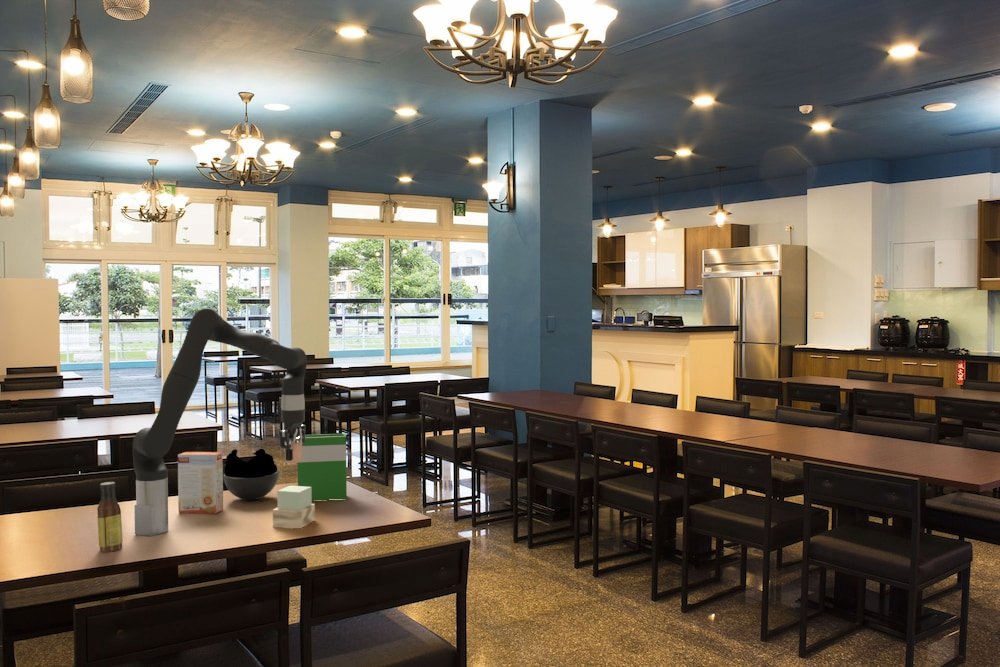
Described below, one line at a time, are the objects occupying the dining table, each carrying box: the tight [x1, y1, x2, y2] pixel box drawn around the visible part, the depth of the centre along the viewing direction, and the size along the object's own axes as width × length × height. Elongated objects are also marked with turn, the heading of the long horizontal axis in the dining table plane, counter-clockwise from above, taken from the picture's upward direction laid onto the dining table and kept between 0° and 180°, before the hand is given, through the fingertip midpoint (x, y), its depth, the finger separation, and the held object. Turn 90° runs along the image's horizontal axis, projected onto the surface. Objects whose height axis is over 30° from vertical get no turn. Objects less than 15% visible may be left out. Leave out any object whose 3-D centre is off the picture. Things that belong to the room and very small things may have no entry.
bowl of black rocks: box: [223, 448, 280, 501], centre depth 287 cm, size 20×20×19 cm
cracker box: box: [177, 451, 224, 514], centre depth 269 cm, size 14×6×21 cm, turn 84°
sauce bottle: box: [96, 481, 123, 553], centre depth 225 cm, size 6×6×20 cm
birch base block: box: [272, 503, 316, 529], centre depth 253 cm, size 10×10×6 cm
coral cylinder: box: [284, 442, 302, 464], centre depth 252 cm, size 6×6×6 cm
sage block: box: [276, 485, 313, 511], centre depth 252 cm, size 8×8×6 cm
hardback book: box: [297, 433, 348, 501], centre depth 287 cm, size 18×7×24 cm, turn 103°
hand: (293, 458), depth 252 cm, fingers closed on coral cylinder, 5 cm apart
